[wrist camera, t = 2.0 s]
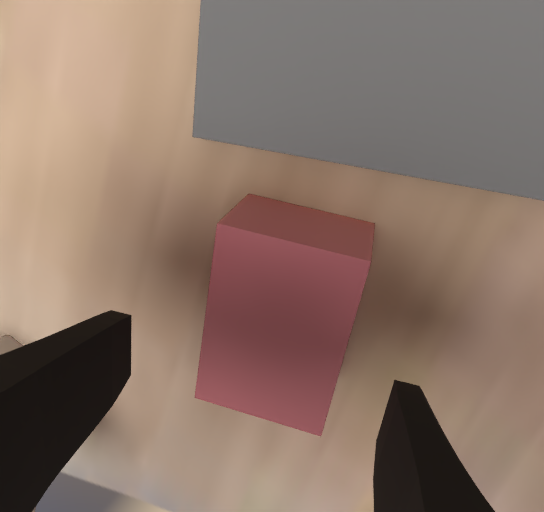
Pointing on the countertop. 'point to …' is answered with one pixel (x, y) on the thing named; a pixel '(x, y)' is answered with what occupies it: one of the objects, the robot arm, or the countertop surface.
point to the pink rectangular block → (281, 309)
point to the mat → (381, 85)
